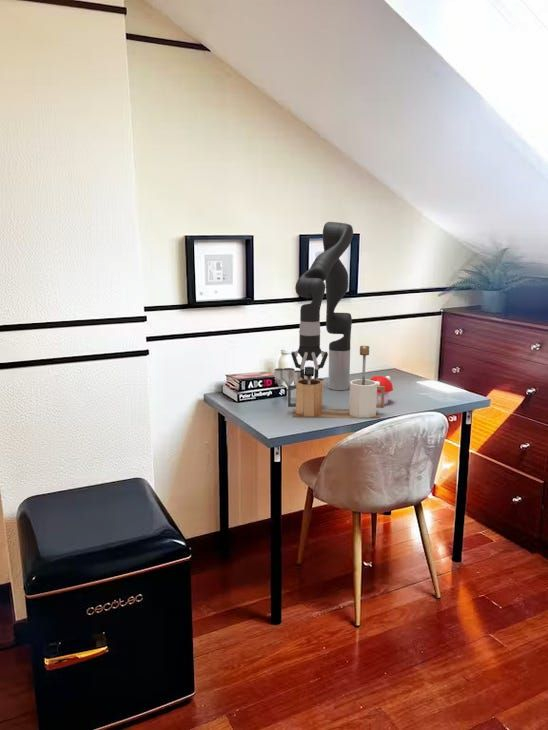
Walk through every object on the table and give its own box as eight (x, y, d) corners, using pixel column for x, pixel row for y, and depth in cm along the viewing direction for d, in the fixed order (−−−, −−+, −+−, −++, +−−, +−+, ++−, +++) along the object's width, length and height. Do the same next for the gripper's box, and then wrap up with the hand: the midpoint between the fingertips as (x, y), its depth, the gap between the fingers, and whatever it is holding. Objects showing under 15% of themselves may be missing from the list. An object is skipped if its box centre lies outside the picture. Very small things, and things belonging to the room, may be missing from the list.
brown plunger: (353, 387, 231) (354, 344, 228) (371, 387, 231) (372, 344, 227) (355, 392, 225) (356, 348, 221) (373, 392, 225) (374, 348, 221)
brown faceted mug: (288, 409, 236) (288, 378, 233) (321, 409, 235) (321, 378, 232) (287, 416, 226) (287, 385, 224) (322, 417, 226) (322, 385, 223)
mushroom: (366, 408, 240) (367, 379, 238) (363, 401, 251) (364, 372, 248) (394, 409, 240) (395, 379, 237) (389, 401, 251) (390, 372, 248)
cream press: (348, 409, 235) (349, 379, 232) (381, 410, 234) (382, 379, 232) (350, 417, 225) (351, 385, 223) (385, 417, 225) (386, 386, 222)
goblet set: (270, 397, 257) (270, 366, 254) (281, 395, 260) (281, 364, 257) (316, 412, 235) (317, 379, 233) (327, 410, 239) (328, 376, 236)
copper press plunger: (299, 407, 234) (300, 365, 230) (317, 407, 233) (318, 365, 230) (299, 412, 227) (300, 369, 224) (317, 412, 227) (318, 369, 223)
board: (292, 411, 236) (292, 408, 236) (376, 412, 235) (376, 409, 235) (292, 420, 226) (292, 417, 225) (380, 421, 225) (380, 418, 224)
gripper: (328, 331, 227) (327, 376, 231) (290, 331, 228) (290, 376, 232) (329, 335, 220) (328, 381, 224) (290, 334, 221) (289, 381, 224)
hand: (309, 378), depth 228 cm, fingers open, 4 cm apart
